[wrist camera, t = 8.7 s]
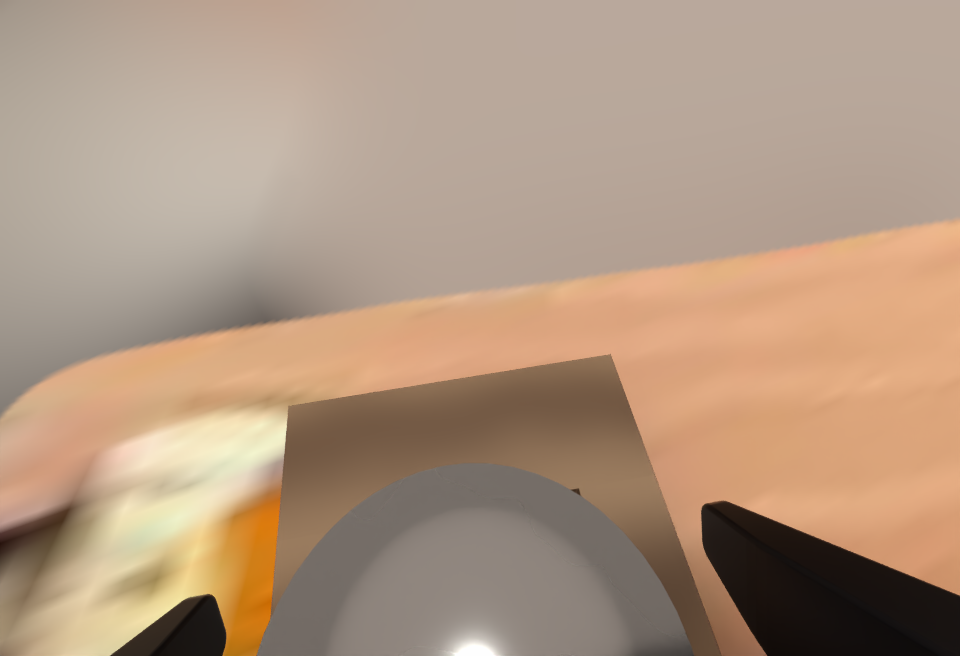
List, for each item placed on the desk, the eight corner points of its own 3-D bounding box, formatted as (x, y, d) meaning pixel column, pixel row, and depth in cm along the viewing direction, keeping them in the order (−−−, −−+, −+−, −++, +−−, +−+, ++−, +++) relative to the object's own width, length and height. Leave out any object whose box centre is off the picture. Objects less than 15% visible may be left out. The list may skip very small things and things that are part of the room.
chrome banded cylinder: (604, 690, 13) (841, 870, 4) (448, 789, 12) (284, 1334, 3) (524, 524, 16) (556, 402, 7) (389, 595, 15) (205, 566, 6)
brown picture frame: (810, 1013, 10) (892, 1119, 8) (277, 1143, 9) (212, 1295, 7) (598, 383, 19) (610, 354, 17) (313, 429, 18) (288, 406, 16)
